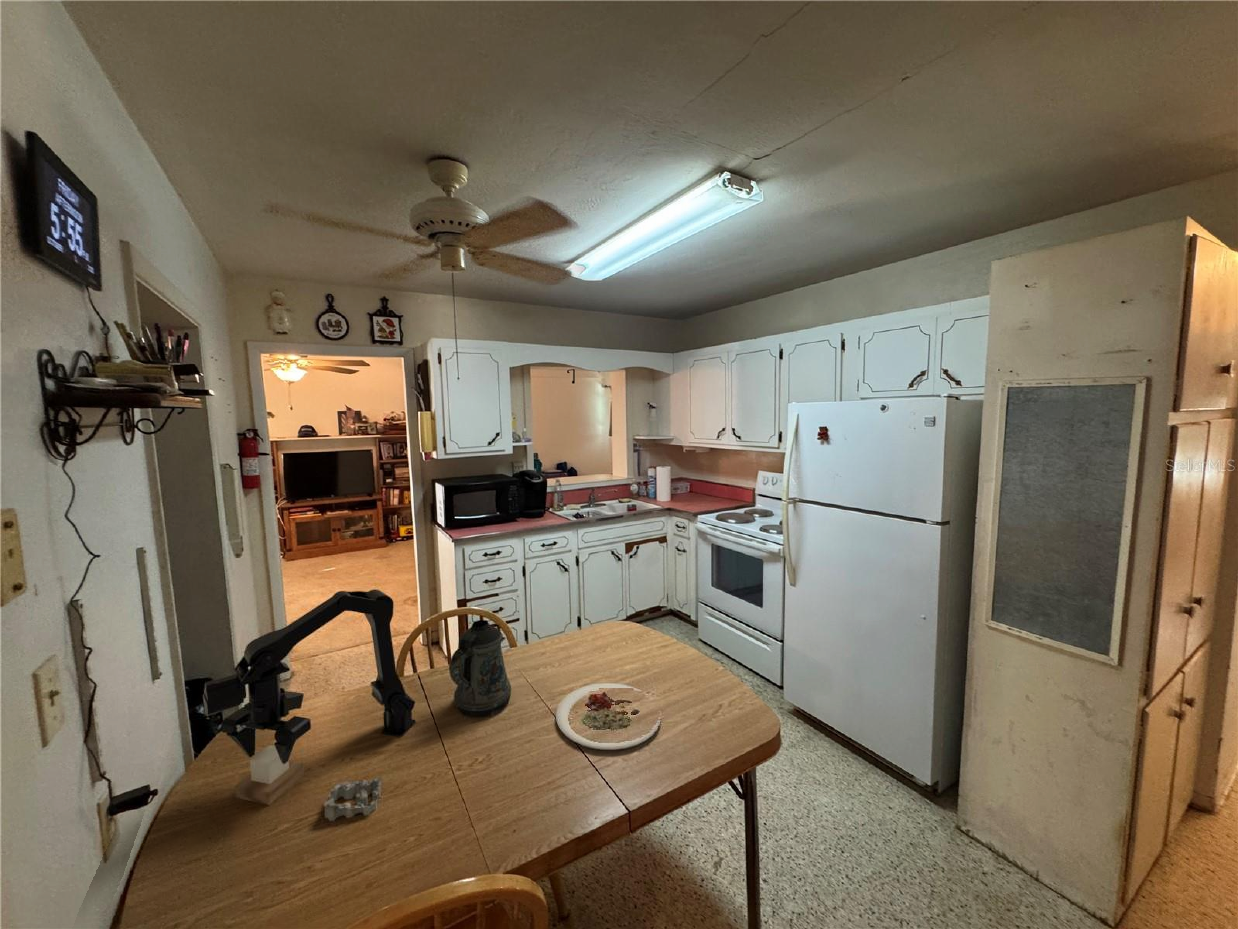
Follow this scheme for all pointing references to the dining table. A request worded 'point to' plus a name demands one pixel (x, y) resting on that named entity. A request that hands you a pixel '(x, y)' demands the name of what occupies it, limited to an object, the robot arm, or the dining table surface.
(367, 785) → the egg carton
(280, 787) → the walnut base
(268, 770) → the cream block
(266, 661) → the robot arm
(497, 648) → the beer stein
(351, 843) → the dining table surface
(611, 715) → the plated food
